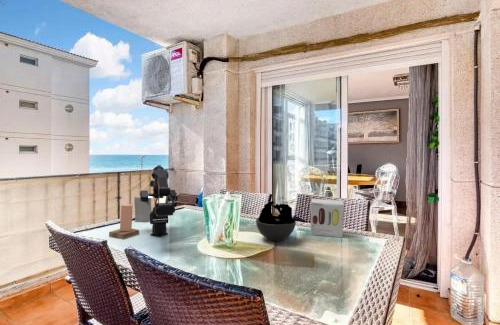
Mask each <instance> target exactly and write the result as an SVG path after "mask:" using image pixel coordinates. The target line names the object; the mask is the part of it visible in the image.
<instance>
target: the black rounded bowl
mask: <svg viewBox="0 0 500 325" xmlns="http://www.w3.org/2000/svg"><path fill="white" fill-rule="evenodd" d="M274 203H275V201H274V200H272V201H271V200H270V201H269V202H267V203H265V204H264V205H263V208H262V209H261V211H260V214H259V216H258V218H256V220H255V223H256V228H257V230H258V231H259V233H260V234H261V235H262V237H264V238H265V239H268V240H270V241H273V242H280V241H284V240H285V239H288V237H290V235H292V234H293V232H294V230H295V228H296V223H297V222H296V219H295V218H294V217H293V208H292V207H291V206H290V205H289V204H286V203H280V204H278V203H275V204H274ZM273 208H274V209H275V210H277V211H278V213H279V214H278V215H273V213H272V209H273Z"/></svg>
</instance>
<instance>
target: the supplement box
mask: <svg viewBox="0 0 500 325" xmlns="http://www.w3.org/2000/svg"><path fill="white" fill-rule="evenodd" d="M344 208H345V205H344V202H343V200H340V199H339V200H337V199H334V200H333V199H322V198H321V199H319V198H311V207H310V209H311V210H310V232H309V233H310V235H313V236H323V237H332V238H334V237H336V238H344V236H343V235H344V215H345V214H344V213H345V211H344Z"/></svg>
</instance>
